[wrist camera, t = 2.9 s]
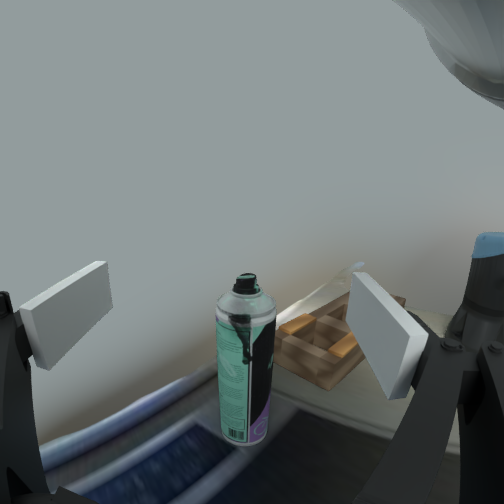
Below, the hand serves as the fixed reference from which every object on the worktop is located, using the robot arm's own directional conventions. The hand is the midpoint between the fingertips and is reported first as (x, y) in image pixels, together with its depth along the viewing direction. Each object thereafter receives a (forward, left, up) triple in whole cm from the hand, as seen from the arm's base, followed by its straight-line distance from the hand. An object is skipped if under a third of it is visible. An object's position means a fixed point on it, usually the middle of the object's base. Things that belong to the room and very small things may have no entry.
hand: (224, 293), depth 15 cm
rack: (+10, -37, -23) cm, 44 cm away
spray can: (+7, -8, -23) cm, 25 cm away
